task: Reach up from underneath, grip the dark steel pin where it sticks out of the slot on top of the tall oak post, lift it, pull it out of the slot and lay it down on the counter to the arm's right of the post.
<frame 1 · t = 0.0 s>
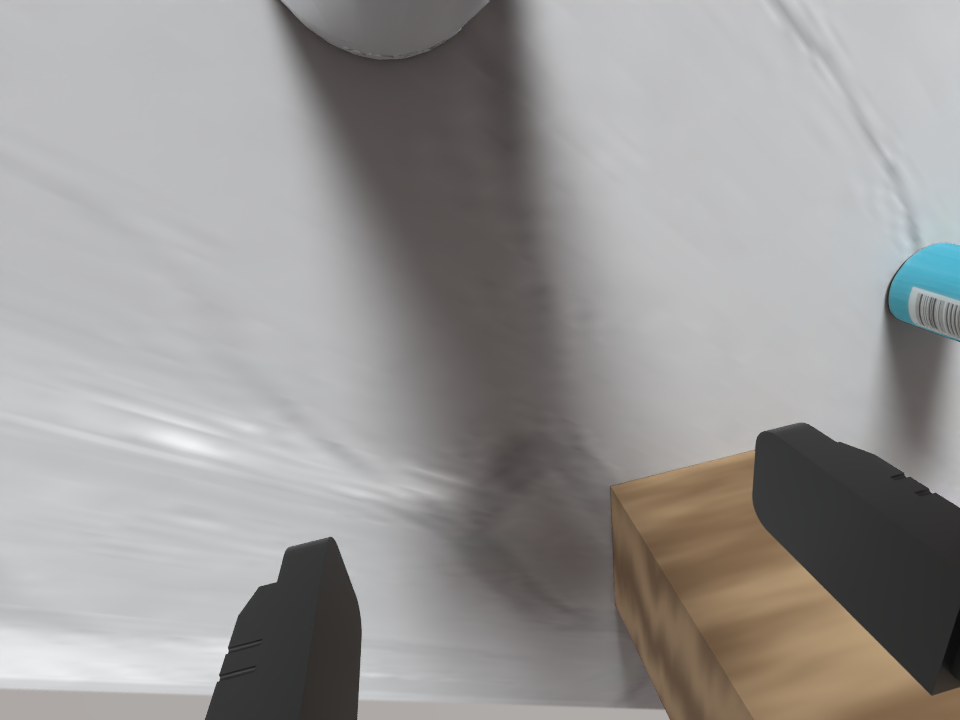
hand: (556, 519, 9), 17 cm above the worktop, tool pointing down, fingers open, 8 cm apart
tube: (920, 278, 30), on the worktop
post: (705, 525, 36), on the worktop
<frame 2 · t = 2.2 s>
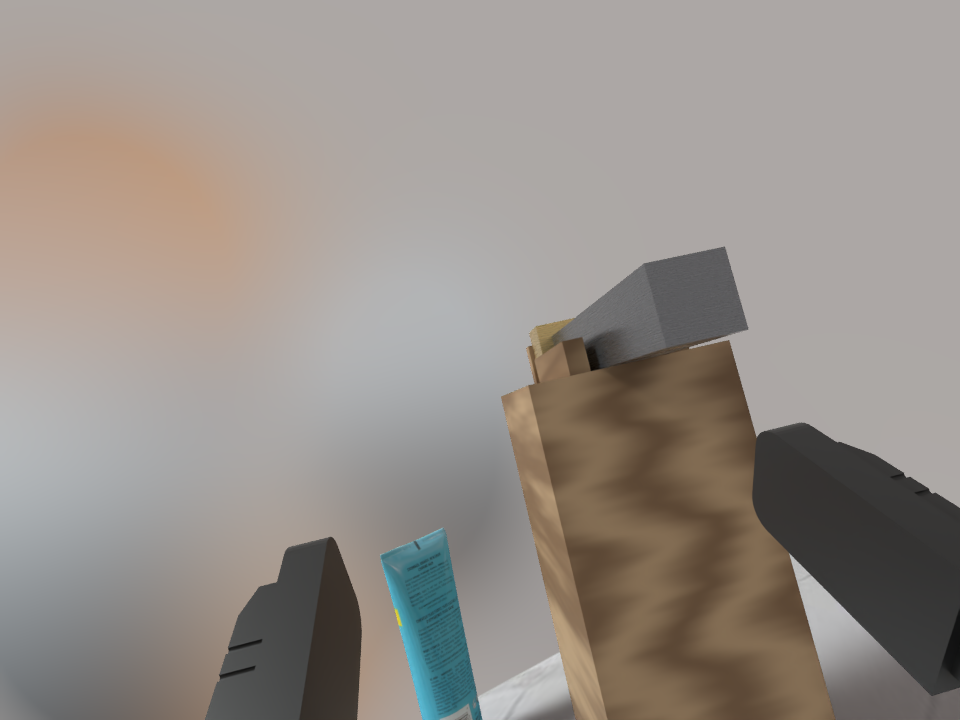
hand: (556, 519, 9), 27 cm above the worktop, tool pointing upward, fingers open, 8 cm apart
pin: (627, 363, 29), point 30 cm above the worktop, touching post
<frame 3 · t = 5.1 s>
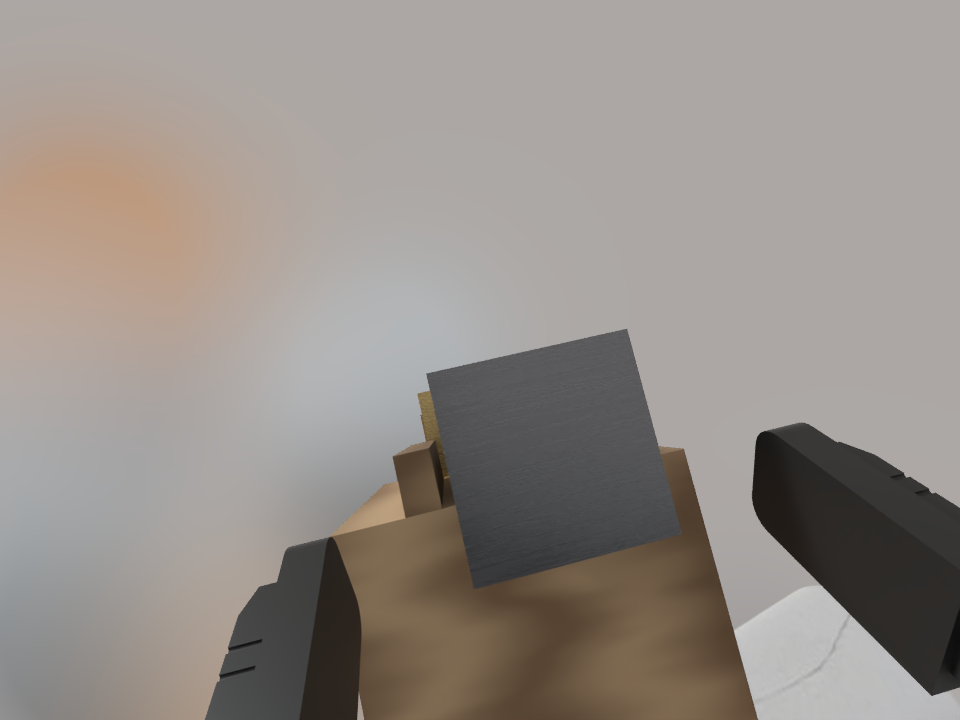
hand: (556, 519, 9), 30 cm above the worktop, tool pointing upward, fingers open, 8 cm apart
pin: (510, 489, 17), point 30 cm above the worktop, touching post
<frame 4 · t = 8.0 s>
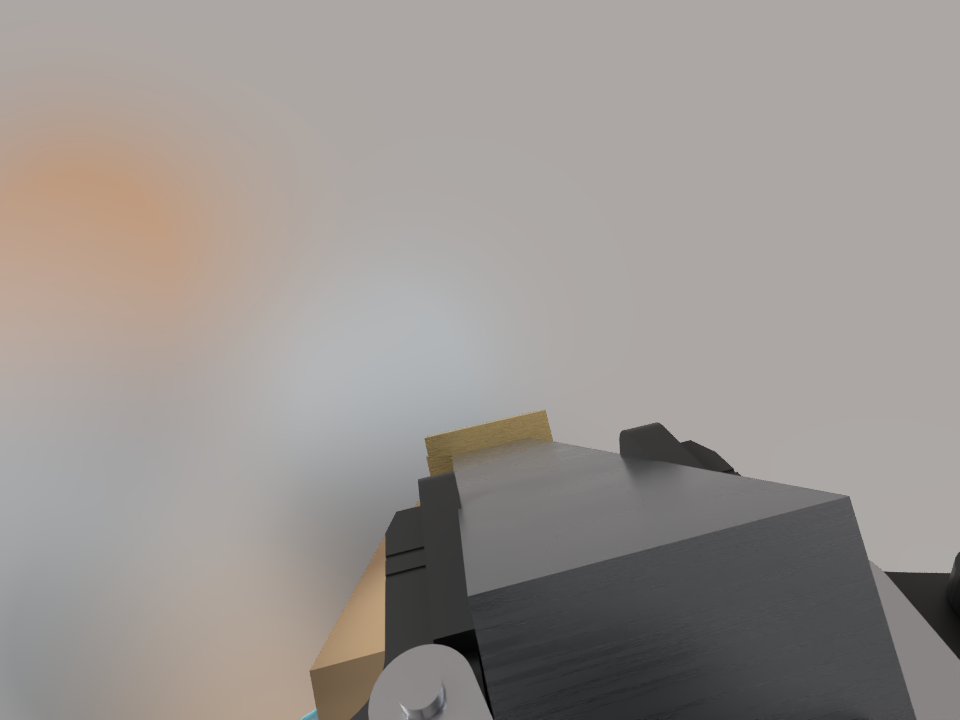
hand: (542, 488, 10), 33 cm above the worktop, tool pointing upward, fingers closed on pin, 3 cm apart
pin: (551, 597, 13), point 30 cm above the worktop, touching gripper, post
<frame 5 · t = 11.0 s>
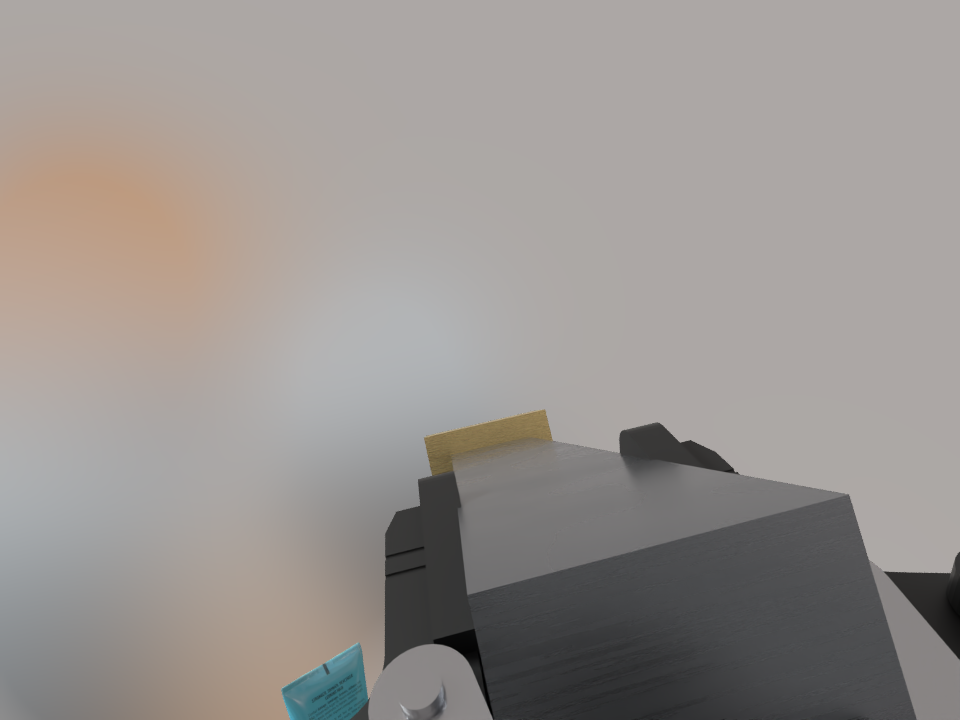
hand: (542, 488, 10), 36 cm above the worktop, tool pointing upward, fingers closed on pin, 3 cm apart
pin: (550, 597, 13), point 33 cm above the worktop, touching gripper
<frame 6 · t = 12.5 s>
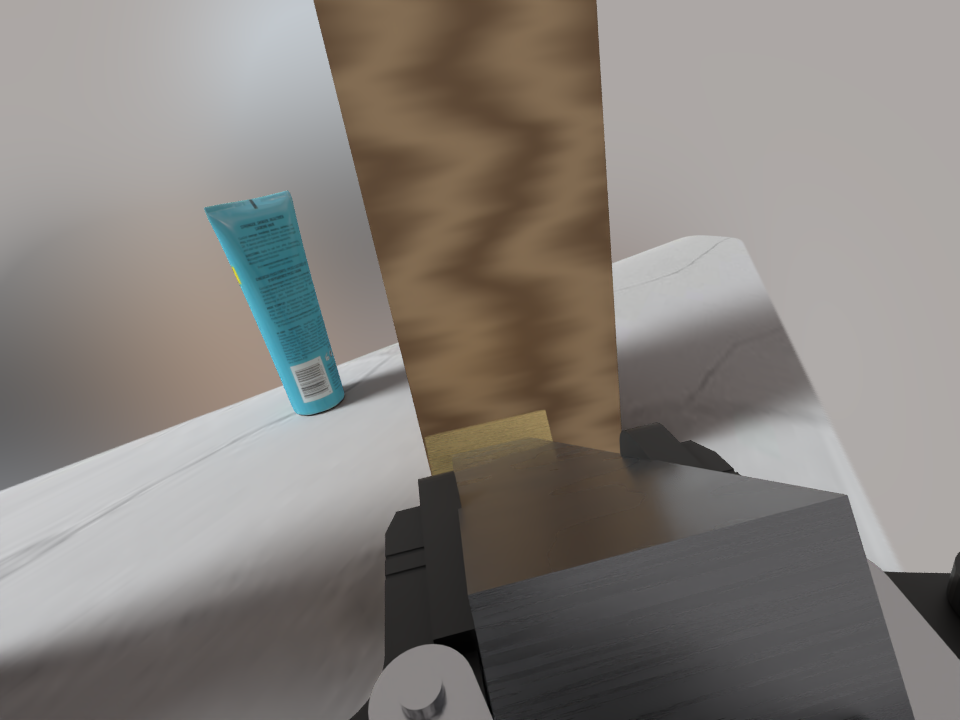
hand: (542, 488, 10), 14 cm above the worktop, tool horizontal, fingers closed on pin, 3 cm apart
tube: (318, 405, 49), on the worktop
post: (509, 433, 38), on the worktop
pin: (550, 597, 13), point 10 cm above the worktop, tilted 30°, touching gripper
when the fingers open (8 cm above the worktop, at t = 14.2 s): pin drops 4 cm, on the worktop.
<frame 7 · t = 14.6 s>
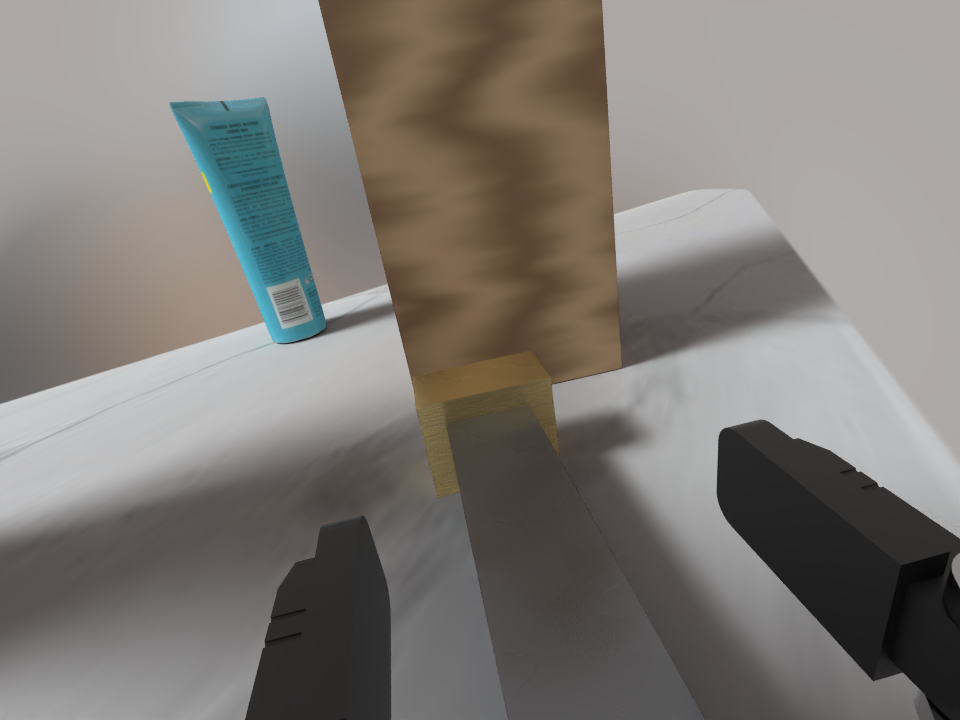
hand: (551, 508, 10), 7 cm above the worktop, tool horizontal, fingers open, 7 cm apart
tube: (299, 335, 46), on the worktop
post: (498, 347, 35), on the worktop
pin: (567, 683, 14), on the worktop
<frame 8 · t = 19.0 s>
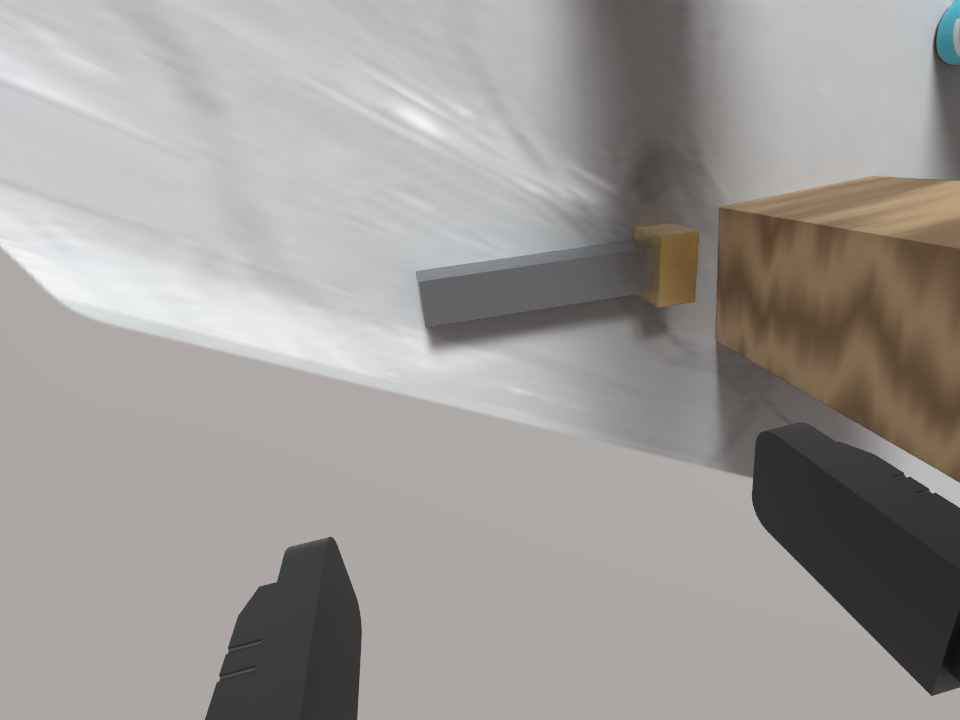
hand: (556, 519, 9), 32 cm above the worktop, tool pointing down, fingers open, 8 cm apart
post: (791, 261, 45), on the worktop
pin: (528, 276, 41), on the worktop
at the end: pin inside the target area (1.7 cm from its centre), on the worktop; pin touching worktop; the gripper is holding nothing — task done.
